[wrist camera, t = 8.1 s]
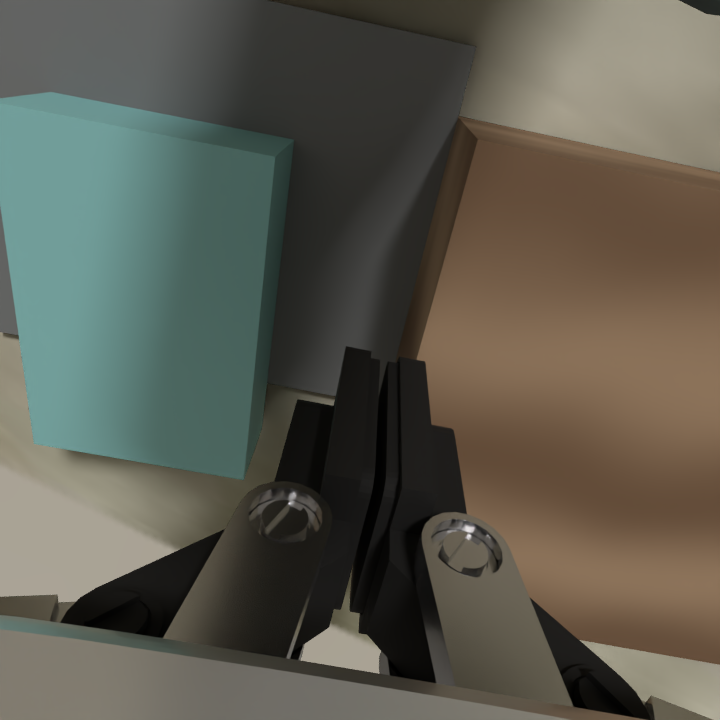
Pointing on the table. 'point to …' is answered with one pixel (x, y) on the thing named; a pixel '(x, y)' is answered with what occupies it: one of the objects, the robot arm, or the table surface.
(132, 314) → the teal rectangular block
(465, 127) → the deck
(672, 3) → the table surface
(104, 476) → the table surface
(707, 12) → the dark green arched piece
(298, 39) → the mat
